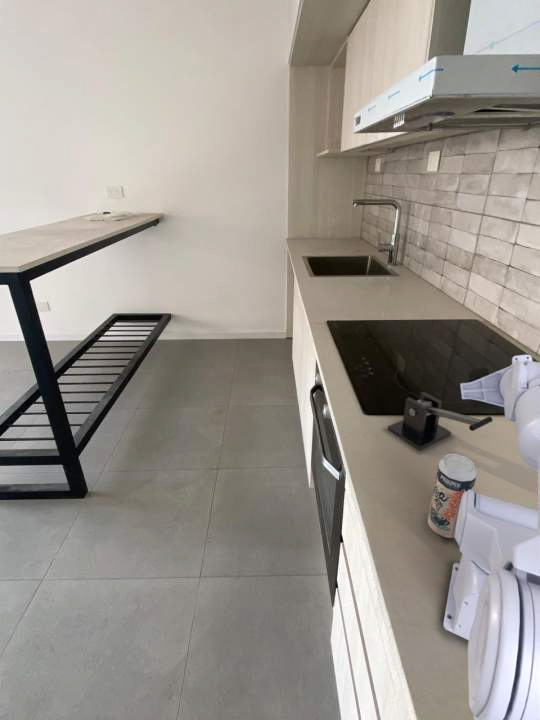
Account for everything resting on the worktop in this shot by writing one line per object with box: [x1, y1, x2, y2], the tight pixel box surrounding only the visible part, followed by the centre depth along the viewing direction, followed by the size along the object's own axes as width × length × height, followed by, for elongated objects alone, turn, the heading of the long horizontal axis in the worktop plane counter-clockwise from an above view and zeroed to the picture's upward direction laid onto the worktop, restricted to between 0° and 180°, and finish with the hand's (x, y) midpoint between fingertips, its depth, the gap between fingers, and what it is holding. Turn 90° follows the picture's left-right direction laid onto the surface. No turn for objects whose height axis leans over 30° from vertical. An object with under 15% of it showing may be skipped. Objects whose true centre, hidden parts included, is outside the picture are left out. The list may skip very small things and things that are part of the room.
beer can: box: [427, 453, 478, 539], centre depth 56 cm, size 5×5×12 cm
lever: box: [416, 398, 493, 432], centre depth 72 cm, size 14×5×2 cm, turn 30°
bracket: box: [387, 391, 452, 452], centre depth 78 cm, size 8×9×8 cm
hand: (515, 383), depth 57 cm, fingers open, 7 cm apart
